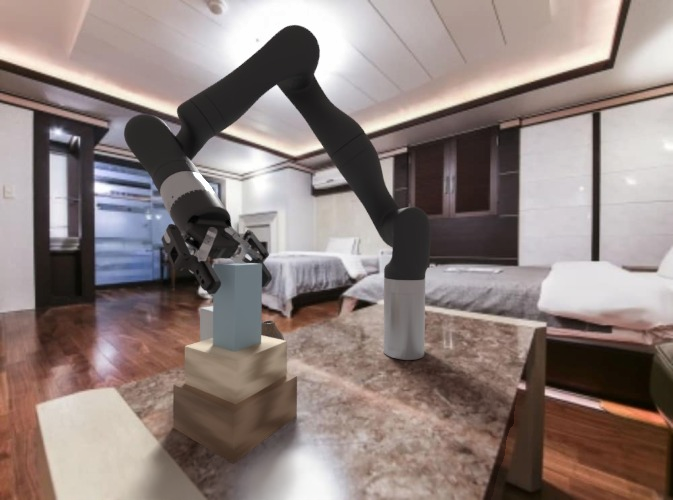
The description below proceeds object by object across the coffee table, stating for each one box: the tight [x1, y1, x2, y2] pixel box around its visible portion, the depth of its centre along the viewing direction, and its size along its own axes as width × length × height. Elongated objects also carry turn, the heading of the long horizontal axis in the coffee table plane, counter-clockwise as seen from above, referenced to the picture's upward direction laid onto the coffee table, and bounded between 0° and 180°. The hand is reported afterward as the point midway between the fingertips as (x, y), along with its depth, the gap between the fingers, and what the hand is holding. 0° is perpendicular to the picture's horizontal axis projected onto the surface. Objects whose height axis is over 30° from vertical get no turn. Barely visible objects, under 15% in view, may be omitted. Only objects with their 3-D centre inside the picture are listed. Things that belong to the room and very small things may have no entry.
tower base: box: [172, 372, 298, 464], centre depth 40 cm, size 11×12×6 cm
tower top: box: [184, 335, 288, 404], centre depth 40 cm, size 9×10×5 cm
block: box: [212, 262, 263, 352], centre depth 40 cm, size 4×4×11 cm
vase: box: [261, 320, 285, 340], centre depth 60 cm, size 7×7×9 cm
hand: (243, 286), depth 40 cm, fingers open, 8 cm apart
